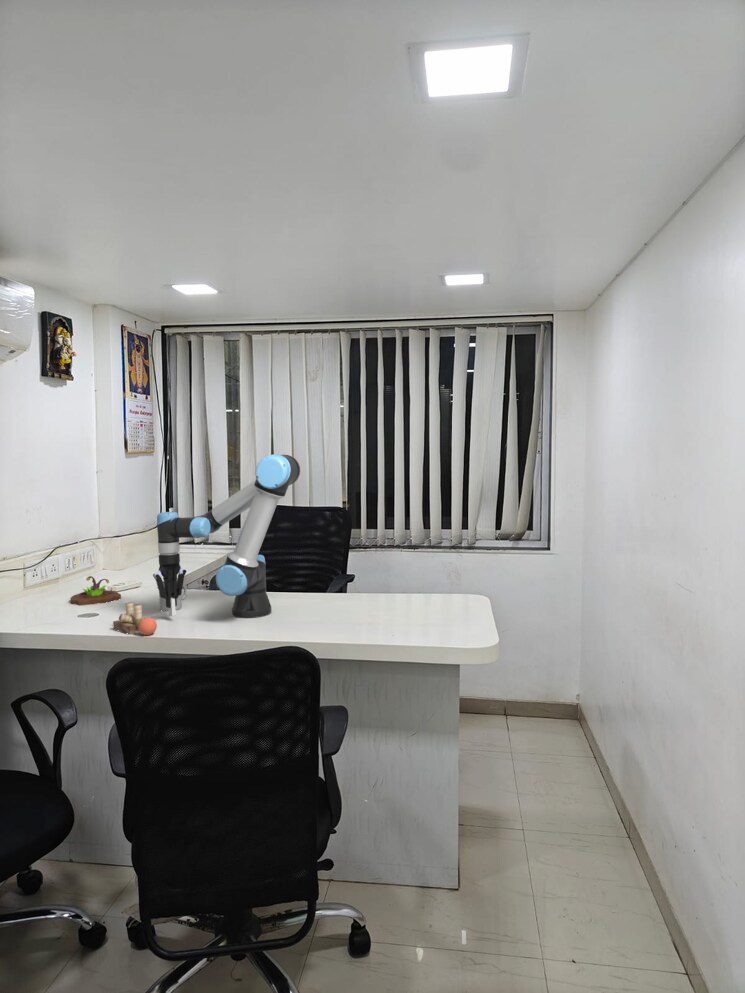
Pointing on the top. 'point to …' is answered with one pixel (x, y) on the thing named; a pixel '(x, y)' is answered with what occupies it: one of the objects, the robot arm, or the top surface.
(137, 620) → the pin
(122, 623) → the brown long block
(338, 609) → the top surface
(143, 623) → the ball
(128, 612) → the pin
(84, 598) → the plant
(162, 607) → the mug
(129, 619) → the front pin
